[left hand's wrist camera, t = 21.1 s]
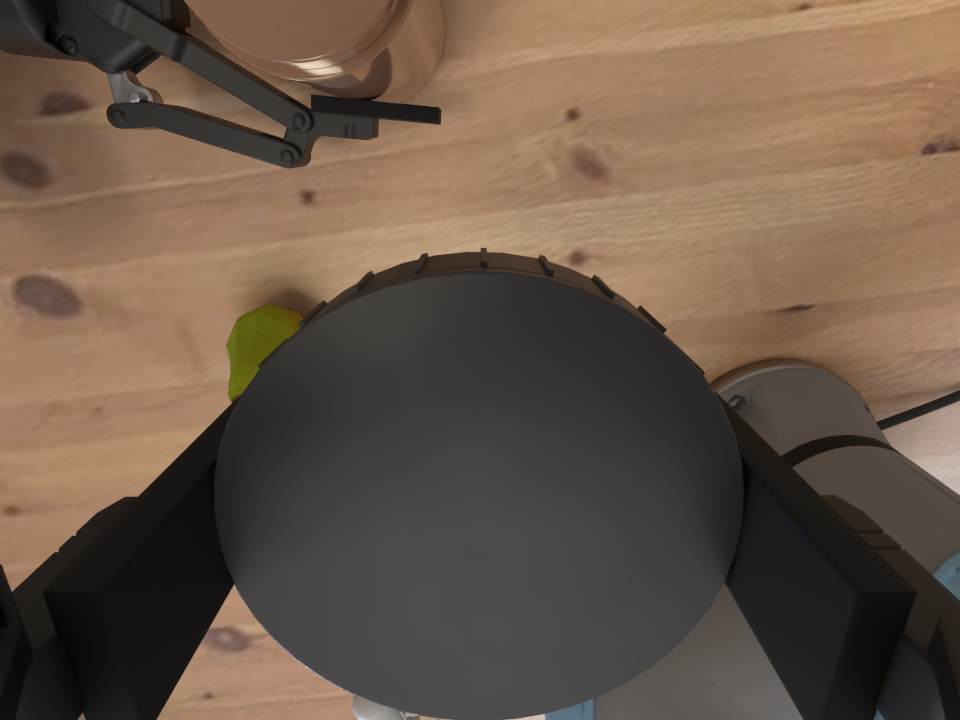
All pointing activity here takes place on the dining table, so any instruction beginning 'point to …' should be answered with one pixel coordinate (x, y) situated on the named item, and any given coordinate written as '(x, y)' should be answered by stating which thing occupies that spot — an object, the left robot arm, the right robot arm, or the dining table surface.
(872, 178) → the dining table surface
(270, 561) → the lid
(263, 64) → the jar
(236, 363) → the fruit
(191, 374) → the dining table surface
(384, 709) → the clip-on lamp
